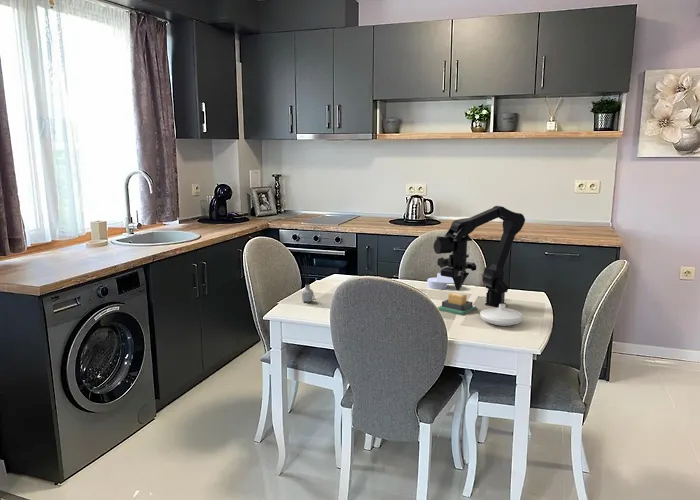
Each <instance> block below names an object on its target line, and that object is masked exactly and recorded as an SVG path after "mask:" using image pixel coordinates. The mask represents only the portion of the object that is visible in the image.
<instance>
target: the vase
mask: <svg viewBox="0 0 700 500" xmlns="http://www.w3.org/2000/svg"><path fill="white" fill-rule="evenodd" d="M479 315H480V318H481V319H482V320H483V321H485V322H487V323H489V324H491V325H493V326H494V325H495V326H501V327H502V326H503V327H506V326H507V327H509V326H514V325H517V324H520V323H522V321H523V320H524V318H525V317H524V315H523V314H522V313H521V312H520V311H518V310H516V309H512V308H508V307H507V308H506V304H499V307H488V308H484V309H482V310H481V311H480V312H479Z"/></svg>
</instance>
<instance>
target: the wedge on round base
mask: <svg viewBox="0 0 700 500" xmlns="http://www.w3.org/2000/svg"><path fill="white" fill-rule="evenodd" d="M440 273H441V272H437V273H436V274H437V275H436V277H429V278H427V284H426V285H427V286H426V287H427V288H428V289H432V290H445V289H447V286H448V284H454V281H453V278H451V277H445V276H441V275H440Z"/></svg>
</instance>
